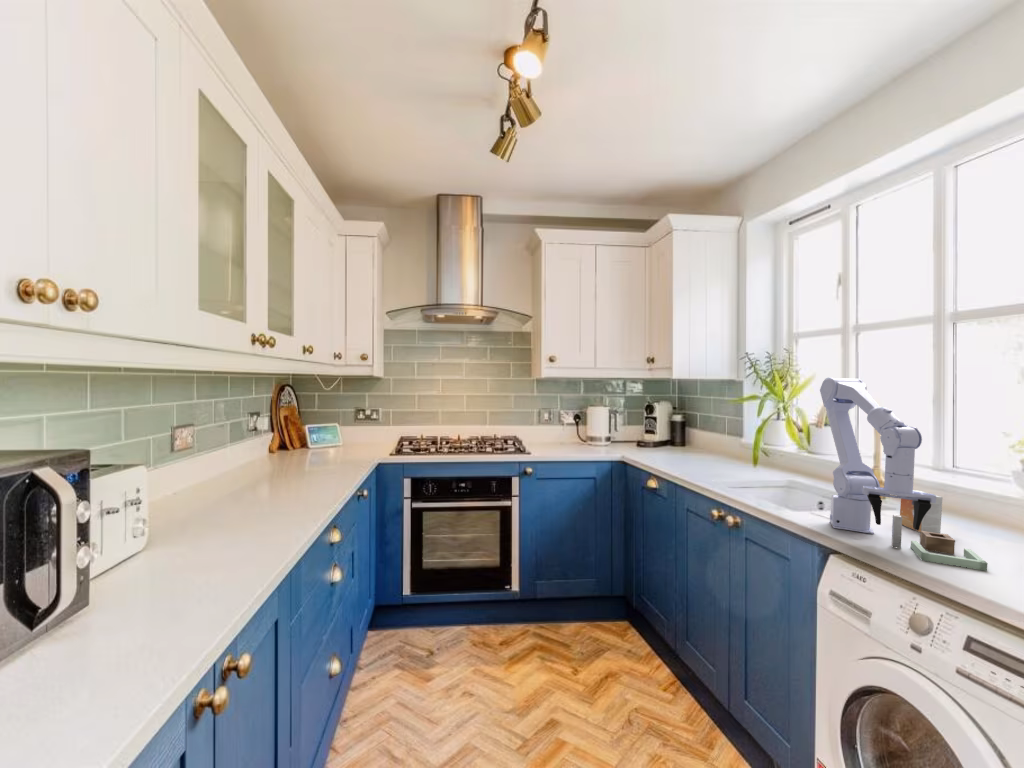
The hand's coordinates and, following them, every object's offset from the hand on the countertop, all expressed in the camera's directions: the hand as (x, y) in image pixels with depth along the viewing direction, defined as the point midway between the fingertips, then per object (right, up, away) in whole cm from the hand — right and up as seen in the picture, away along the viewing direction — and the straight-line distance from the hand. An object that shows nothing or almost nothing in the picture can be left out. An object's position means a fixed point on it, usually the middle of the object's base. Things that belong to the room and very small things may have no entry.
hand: (896, 526), depth 122 cm
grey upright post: (0, -5, 0) cm, 5 cm away
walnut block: (+10, -6, -1) cm, 11 cm away
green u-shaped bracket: (+6, -6, -7) cm, 11 cm away
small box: (+20, -6, +16) cm, 27 cm away
